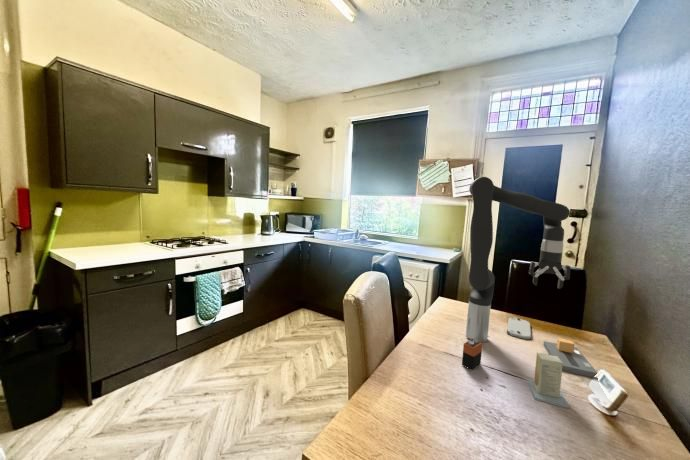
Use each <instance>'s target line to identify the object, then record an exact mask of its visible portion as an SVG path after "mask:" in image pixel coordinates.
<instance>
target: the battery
mask: <svg viewBox="0 0 690 460" xmlns="http://www.w3.org/2000/svg"><path fill="white" fill-rule="evenodd" d="M462 348H463V349H462V350H463V351H462V361H461V366H463V365H464V366H463V367H465V366H466V367H465V368H467V367H468V368H467V369H469V370H470V369H471V370H470V371H473V370H474V369H476V368H478V367H479V366H481V363H482V351H483V342H478V340H477V339H469V340H468V341H466V342H464V343H463V347H462Z"/></svg>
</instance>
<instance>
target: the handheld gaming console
mask: <svg viewBox="0 0 690 460" xmlns="http://www.w3.org/2000/svg"><path fill="white" fill-rule="evenodd" d="M506 334H507V335H510V336H511V337H514V338H517V339H523V340H530V339H532V331H531V323H530V321H527V320H525V319H521V318H518V317H511V316H510V317H508V318H507V328H506Z"/></svg>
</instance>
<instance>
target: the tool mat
mask: <svg viewBox="0 0 690 460" xmlns="http://www.w3.org/2000/svg"><path fill="white" fill-rule="evenodd" d="M527 383H528V385H529V388H530V391H531V393H532V396H533V398H534V400H537V401H540V402H544V403H548V404H552V405H555V406H558V407H561V408H562V407H563V408H565V409H570V406H569V403H568V401H567V400H566V398H565V396H564V394H563V392H562V390H561V389H560V396H559V398H558V397H553V396H549V395H544V394H540V393H537V391H536V389H535V387H534V380H532V379H527Z"/></svg>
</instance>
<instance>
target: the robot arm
mask: <svg viewBox="0 0 690 460" xmlns="http://www.w3.org/2000/svg"><path fill="white" fill-rule="evenodd" d="M468 189H469V193H470V195H471V196H472V200H473V202H472V204H473V211H472V215H471V221H470V228H469V229H470V231H469V232H470V233H469V235H470V236H469V242H470V266H469V273H468V281H469V284H470V286H471V288H472V289H471V291H470V294H469V297H468V308H467V316H466V325H465V338H466V337H467V338H466V339H469V340H471V339H477V340H478V342H481V343H485V342H487V341H488V338H489V326H490V316H491V307H492V301H493V298H494V290H495V282H496V280H495V275H494V273H493V272H492V270H490V269H489V258H490V254H491V250H492V246H493V239H494V237H493V236H494V225H493V212H492V211H493V209H492V207H493V202H498V203H501V204H502V205H503V204H504V205H506V206H510V207H512V208H515V209H518V210H521V211H523V212H527V213H530V214H534V215H539V216H542V221H543V232H542V233H543V235H542V237H543V238H542V242H541V244H540V246H541V247H540V255H539V261H538V262H536V261H530V264H529V269H528V275H530V276H532V283H533V284H534V286H538V280H539V276H540V275H542V274H551V275H556V276H557V278H558V280H557V289H560V290H561V289H562V288H563V287H564V283H565V281H568V280H569V281H570V280H571V266H570V265H568V264H564V265H563V264H562V260H563V259H562V258H563V251H564V237H565V229H564V227H563V226H562V221H565V220H567V219H568V218H569V216H570V215H571V214H570V213H571V212H570V208H568V206H566V205H565V204H561V203H558V202H554V201H550V200H546V199H545V200H544V199H542V198H539V197H537V196H533V195H531V194H526V193H524V192H519V191H513V190H509V189H505V188H501V187H498V186H496V185H494V182H493V181H492V179H491V178H490V177H487V176H480V177H478V178H475V180H473V181H472V182H471V183H470V185H469V187H468ZM537 266H538V267H539V268H538V269H537V270H536V271H535V268H536V267H537ZM562 269H563V271H564V276H563V275H562V273H561V272H560V270H562ZM534 271H535V272H534Z"/></svg>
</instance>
